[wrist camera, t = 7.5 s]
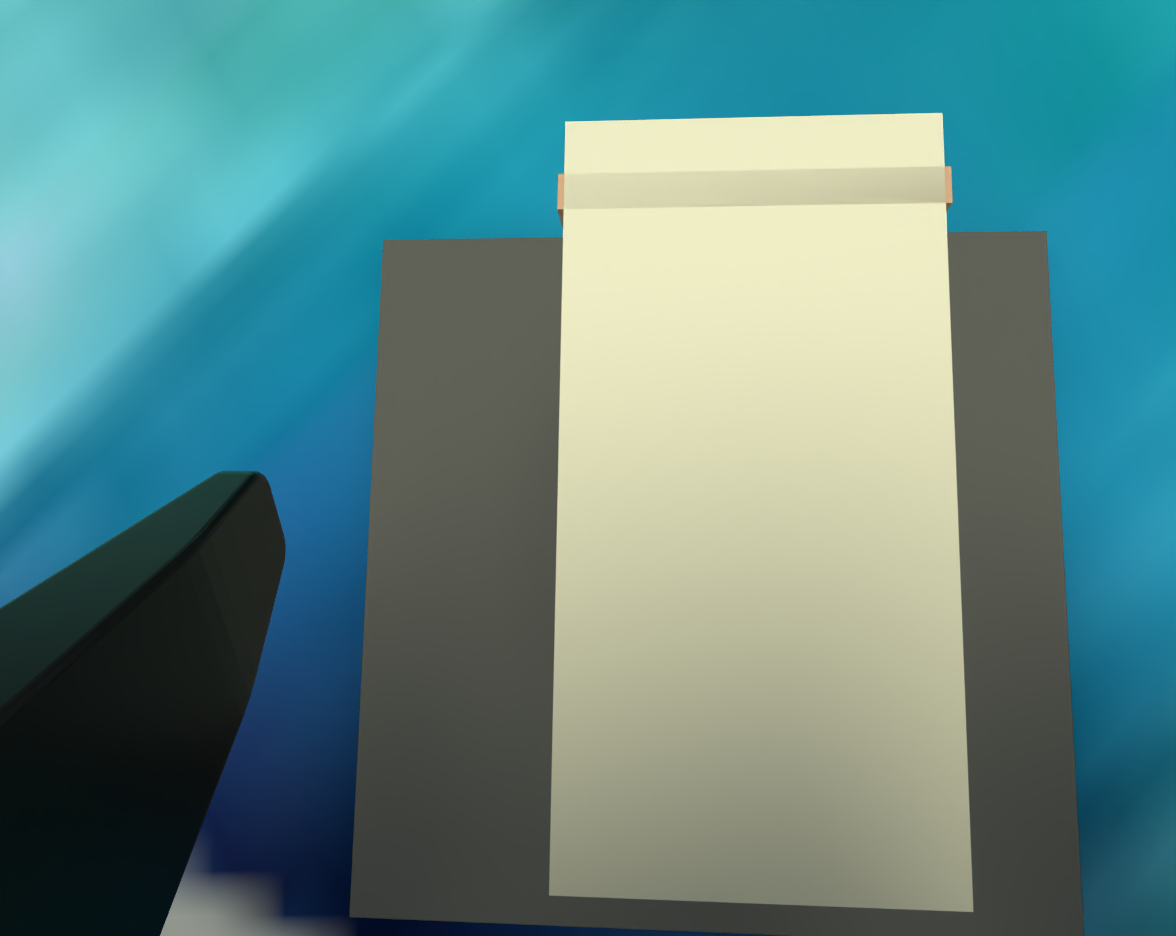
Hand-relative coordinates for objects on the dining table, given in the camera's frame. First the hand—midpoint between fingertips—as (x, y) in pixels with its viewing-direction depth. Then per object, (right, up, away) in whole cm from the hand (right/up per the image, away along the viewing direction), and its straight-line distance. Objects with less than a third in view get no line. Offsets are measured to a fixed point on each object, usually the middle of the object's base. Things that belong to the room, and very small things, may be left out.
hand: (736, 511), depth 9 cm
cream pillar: (+1, -1, +8) cm, 8 cm away
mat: (+1, -1, +9) cm, 9 cm away
